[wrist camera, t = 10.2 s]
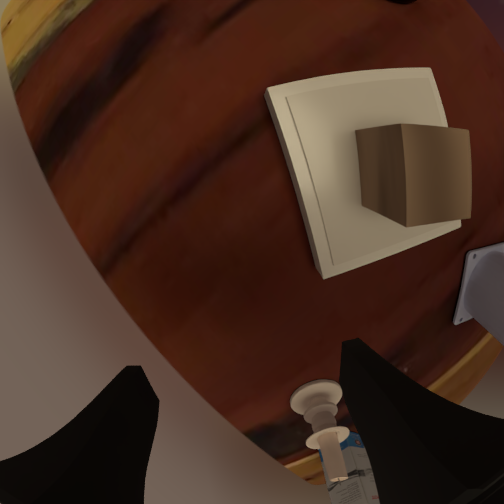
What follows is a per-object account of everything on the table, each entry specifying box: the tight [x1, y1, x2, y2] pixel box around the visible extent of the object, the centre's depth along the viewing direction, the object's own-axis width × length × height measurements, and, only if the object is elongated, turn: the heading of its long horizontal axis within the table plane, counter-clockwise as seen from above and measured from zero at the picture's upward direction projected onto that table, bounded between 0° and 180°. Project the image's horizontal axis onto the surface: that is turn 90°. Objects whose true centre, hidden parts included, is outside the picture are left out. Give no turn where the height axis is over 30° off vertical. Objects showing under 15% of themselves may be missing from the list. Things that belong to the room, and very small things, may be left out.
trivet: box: [264, 68, 461, 279], centre depth 16 cm, size 12×12×2 cm
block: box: [355, 123, 472, 228], centre depth 12 cm, size 4×4×5 cm
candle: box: [290, 379, 349, 485], centre depth 19 cm, size 5×5×10 cm
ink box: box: [318, 431, 380, 504], centre depth 23 cm, size 8×5×12 cm, turn 51°
